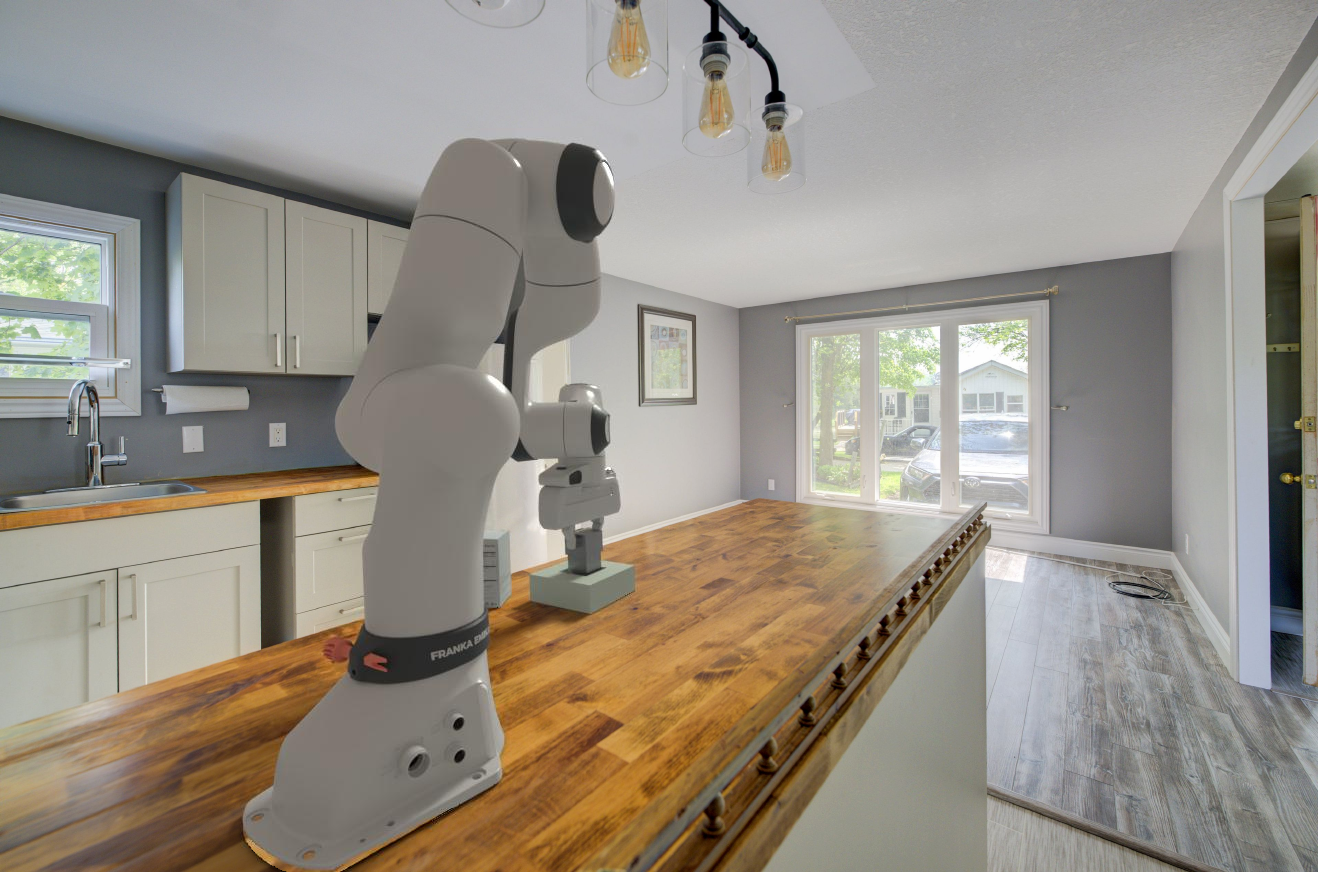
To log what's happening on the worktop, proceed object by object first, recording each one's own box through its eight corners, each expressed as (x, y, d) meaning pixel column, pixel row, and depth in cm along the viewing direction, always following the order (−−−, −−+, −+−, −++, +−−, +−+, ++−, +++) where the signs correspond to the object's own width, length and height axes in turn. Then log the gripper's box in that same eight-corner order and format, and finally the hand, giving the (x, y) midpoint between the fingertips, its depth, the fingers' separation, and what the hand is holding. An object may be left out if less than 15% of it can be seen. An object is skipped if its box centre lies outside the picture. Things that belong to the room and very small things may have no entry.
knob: (587, 576, 101) (585, 533, 100) (566, 572, 103) (564, 531, 103) (603, 569, 105) (602, 527, 105) (583, 566, 108) (581, 526, 107)
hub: (590, 614, 95) (589, 585, 94) (530, 600, 102) (529, 574, 102) (635, 590, 107) (634, 565, 106) (578, 580, 114) (577, 556, 114)
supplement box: (474, 595, 106) (472, 529, 105) (512, 594, 106) (510, 529, 105) (458, 608, 98) (456, 538, 98) (500, 608, 98) (498, 538, 98)
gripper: (602, 465, 114) (603, 532, 114) (531, 476, 96) (533, 555, 97) (627, 466, 111) (628, 535, 111) (559, 478, 93) (561, 559, 94)
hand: (584, 544), depth 104 cm, fingers closed on knob, 5 cm apart
